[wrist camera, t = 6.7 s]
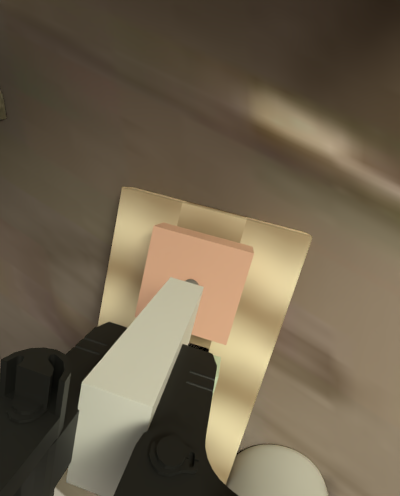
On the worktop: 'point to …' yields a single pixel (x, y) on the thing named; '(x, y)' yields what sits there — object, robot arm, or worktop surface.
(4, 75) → the worktop surface
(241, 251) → the terracotta tile
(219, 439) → the board
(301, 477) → the mug
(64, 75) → the worktop surface
